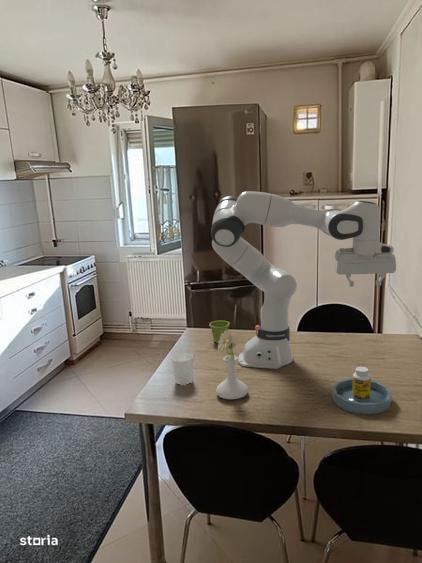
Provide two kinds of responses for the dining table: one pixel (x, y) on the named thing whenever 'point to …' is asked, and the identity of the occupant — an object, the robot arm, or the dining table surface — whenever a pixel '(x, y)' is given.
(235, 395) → the flower in vase
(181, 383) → the white cup
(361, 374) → the supplement bottle
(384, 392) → the slate dish
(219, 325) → the plant pot
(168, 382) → the dining table surface
